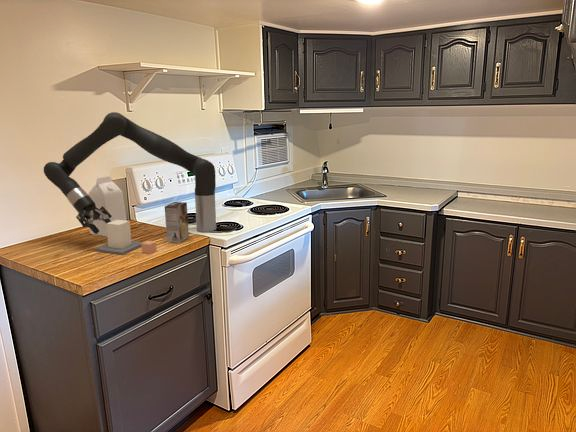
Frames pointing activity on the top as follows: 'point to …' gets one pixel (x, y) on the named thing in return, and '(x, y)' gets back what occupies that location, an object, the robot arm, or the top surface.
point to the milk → (107, 202)
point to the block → (148, 247)
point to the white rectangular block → (119, 234)
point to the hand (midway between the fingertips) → (105, 230)
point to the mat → (119, 251)
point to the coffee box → (176, 222)
